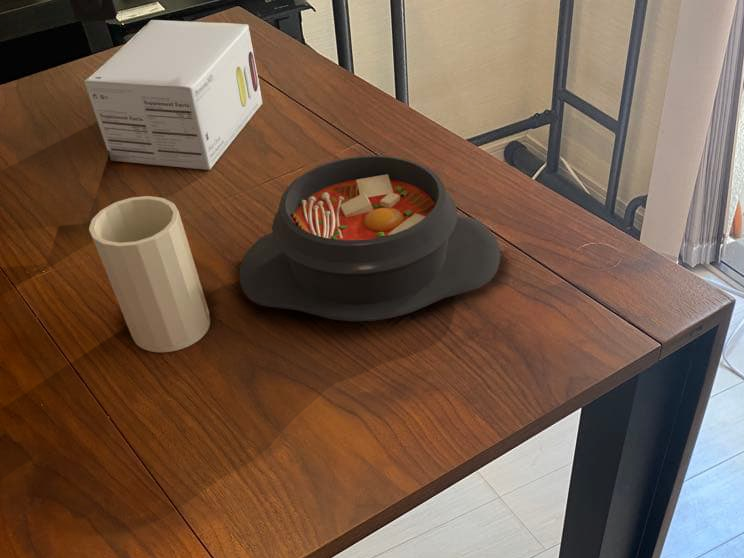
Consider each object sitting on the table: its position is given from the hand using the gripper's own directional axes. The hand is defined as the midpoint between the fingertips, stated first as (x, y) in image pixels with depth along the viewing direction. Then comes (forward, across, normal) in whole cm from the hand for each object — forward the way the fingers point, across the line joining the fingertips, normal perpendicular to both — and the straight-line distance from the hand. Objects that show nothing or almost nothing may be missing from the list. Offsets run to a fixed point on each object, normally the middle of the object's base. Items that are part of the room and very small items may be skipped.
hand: (103, 2), depth 67 cm
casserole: (+24, +6, +19) cm, 31 cm away
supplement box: (+24, -27, -2) cm, 36 cm away
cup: (+23, +11, 0) cm, 26 cm away
